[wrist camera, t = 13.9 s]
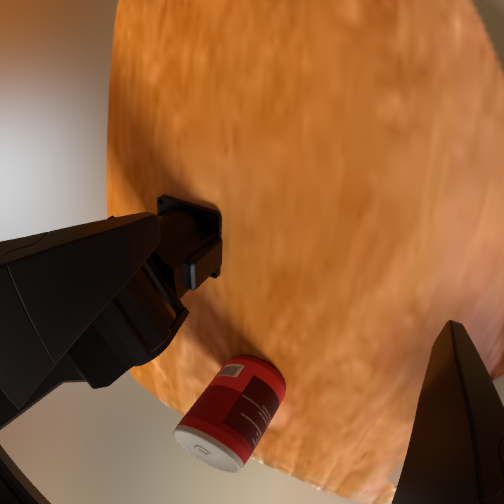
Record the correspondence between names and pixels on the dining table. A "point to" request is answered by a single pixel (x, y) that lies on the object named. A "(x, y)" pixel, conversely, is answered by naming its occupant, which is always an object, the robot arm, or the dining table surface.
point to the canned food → (232, 413)
